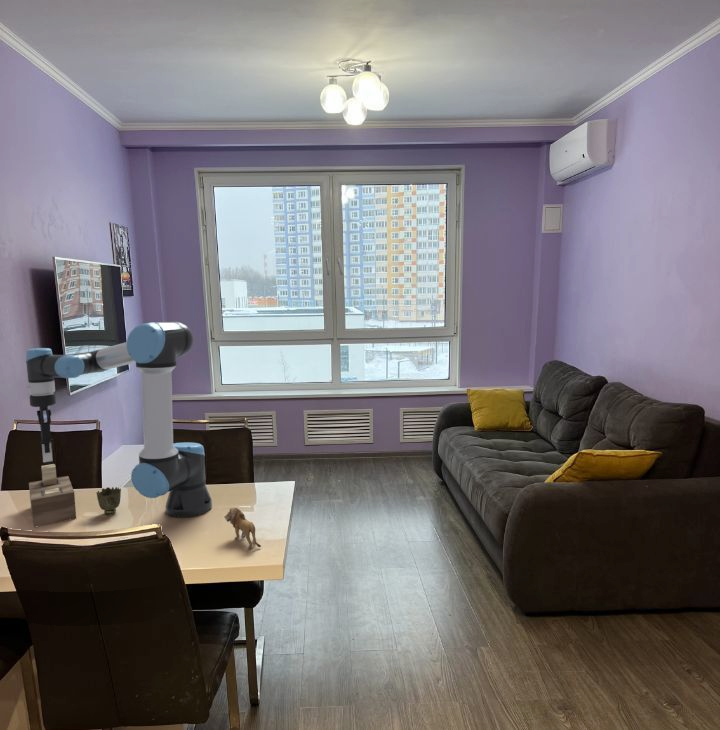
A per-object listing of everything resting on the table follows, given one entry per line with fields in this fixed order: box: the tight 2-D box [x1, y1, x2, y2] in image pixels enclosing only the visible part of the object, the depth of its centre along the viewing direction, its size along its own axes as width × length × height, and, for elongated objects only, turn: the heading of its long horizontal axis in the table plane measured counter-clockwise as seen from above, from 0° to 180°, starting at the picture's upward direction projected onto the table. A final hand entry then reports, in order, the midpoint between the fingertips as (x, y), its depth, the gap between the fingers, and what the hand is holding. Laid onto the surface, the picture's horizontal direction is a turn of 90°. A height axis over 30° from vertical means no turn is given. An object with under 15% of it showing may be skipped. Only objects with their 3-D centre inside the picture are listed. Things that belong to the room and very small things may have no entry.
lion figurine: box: [224, 507, 262, 550], centre depth 153 cm, size 15×5×9 cm, turn 50°
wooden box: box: [28, 475, 77, 528], centre depth 175 cm, size 20×12×9 cm, turn 34°
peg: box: [41, 463, 58, 486], centre depth 179 cm, size 4×4×8 cm
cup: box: [95, 486, 122, 516], centre depth 174 cm, size 8×7×8 cm
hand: (47, 461), depth 178 cm, fingers closed
